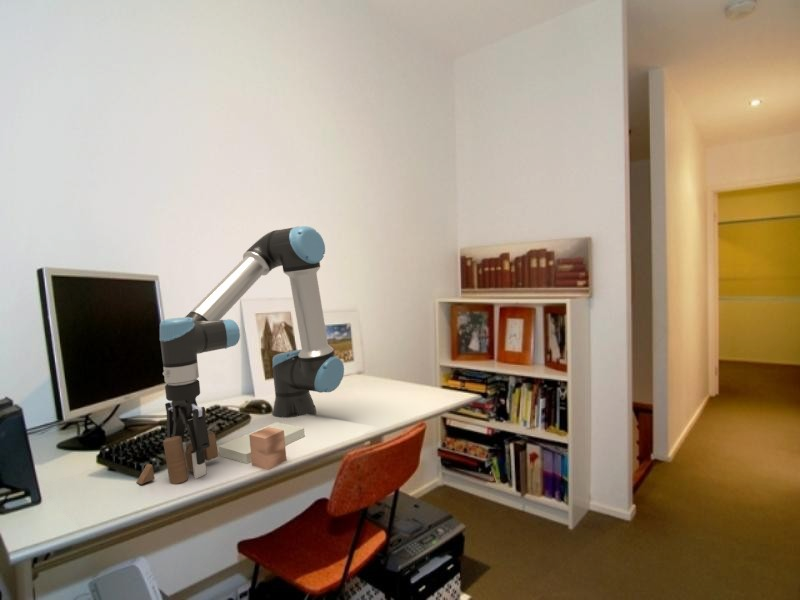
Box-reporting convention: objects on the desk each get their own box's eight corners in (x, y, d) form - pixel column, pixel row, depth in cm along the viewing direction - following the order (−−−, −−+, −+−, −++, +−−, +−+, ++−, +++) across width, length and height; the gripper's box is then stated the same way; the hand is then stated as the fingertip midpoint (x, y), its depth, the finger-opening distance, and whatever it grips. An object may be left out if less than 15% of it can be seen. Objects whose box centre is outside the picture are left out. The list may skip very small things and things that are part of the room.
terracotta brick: (271, 456, 116) (268, 426, 116) (286, 460, 113) (283, 430, 112) (252, 465, 111) (249, 434, 111) (267, 470, 108) (264, 438, 107)
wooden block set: (211, 461, 117) (204, 422, 117) (227, 463, 111) (220, 423, 111) (137, 490, 103) (130, 446, 103) (151, 495, 97) (144, 449, 98)
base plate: (277, 430, 136) (276, 422, 135) (304, 436, 129) (303, 427, 129) (219, 455, 119) (218, 446, 119) (247, 463, 112) (246, 454, 112)
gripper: (145, 381, 110) (154, 470, 111) (190, 389, 98) (200, 488, 100) (175, 374, 116) (183, 458, 117) (220, 381, 104) (229, 474, 106)
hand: (190, 472), depth 109 cm, fingers closed on wooden block set, 7 cm apart
